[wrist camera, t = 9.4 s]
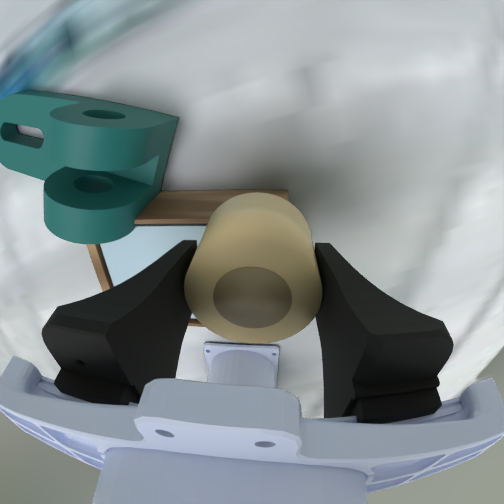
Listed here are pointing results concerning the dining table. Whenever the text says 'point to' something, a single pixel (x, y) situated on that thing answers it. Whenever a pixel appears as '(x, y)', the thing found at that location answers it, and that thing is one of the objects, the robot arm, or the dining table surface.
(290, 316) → the tape roll
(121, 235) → the bracket
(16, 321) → the dining table surface
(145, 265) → the lid
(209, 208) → the pencil box
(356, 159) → the dining table surface
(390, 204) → the dining table surface
